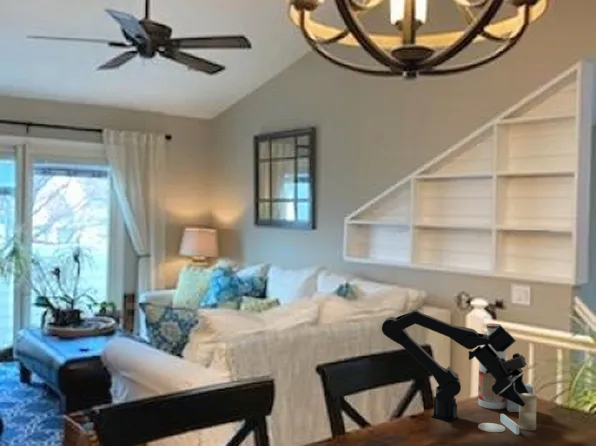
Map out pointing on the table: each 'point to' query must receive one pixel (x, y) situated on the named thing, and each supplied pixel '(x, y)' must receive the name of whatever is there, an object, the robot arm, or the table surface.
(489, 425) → the pad
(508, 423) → the acrylic wall
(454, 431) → the table surface
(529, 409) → the birch cylinder
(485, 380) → the fruit juice
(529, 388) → the medicine box
